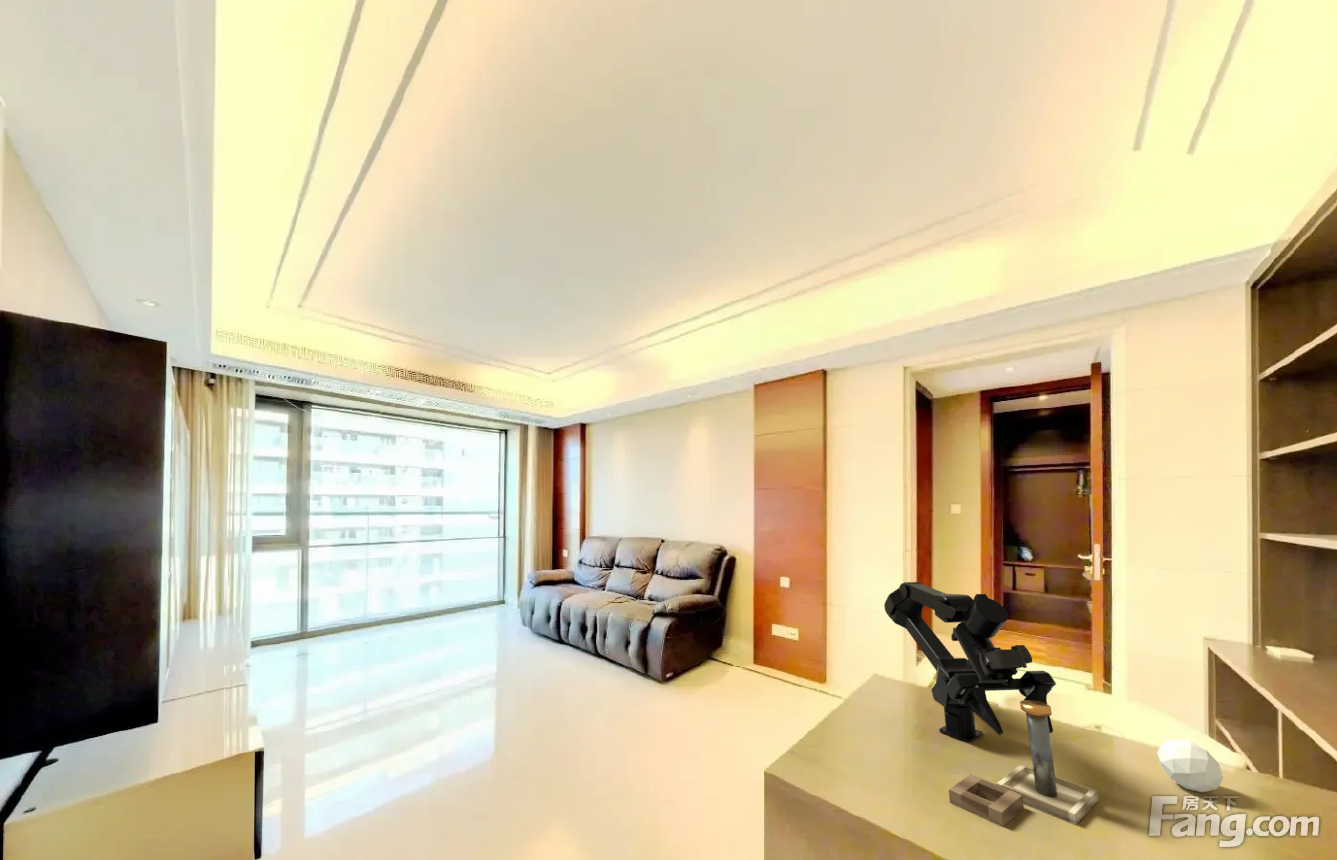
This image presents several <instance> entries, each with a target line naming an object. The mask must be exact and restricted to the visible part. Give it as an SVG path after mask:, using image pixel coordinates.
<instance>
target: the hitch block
mask: <svg viewBox="0 0 1337 860" xmlns="http://www.w3.org/2000/svg"><path fill="white" fill-rule="evenodd" d="M948 797H949V803H950V804H953V805H955V806H957V807H958V808H961V809H963V810H966V811H967V812H970V813H972V814H974V815H976V816H979V817H981V818H983V819H985V820H986V821H987V820H988V821H989V822H992V823H994V824H996V825H998V824H999V825H998V826H1001V827H1004V826H1006V825H1007V824H1008V823H1009V822H1010V821H1012V819H1014V818H1015V817H1016V816H1017V815H1018V814H1020V813H1021V811H1023V810H1024V809H1025V804H1024V803H1023V796H1022V795H1021V794H1019V793H1016V792H1014V791H1011V790H1009V789H1006V788H1004V787H1001V786H999V785H997V783H994V782H991V781H989V780H986V779H983V778H982V777H978V776H976V775H973V774H969V775H968V776H966V777H964V778H963V779H962V780H961V781H959V782H957V783H956V784H954V785H953V786H951V787H950V788H948Z"/></svg>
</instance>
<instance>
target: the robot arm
mask: <svg viewBox="0 0 1337 860" xmlns="http://www.w3.org/2000/svg"><path fill="white" fill-rule="evenodd" d="M987 595H988V594H986V593H976V594H975V595H974V597H973V598H972V597H971V596H970V595H967V594H957V593H946V592H943V591H941V590H937V589H935V588H932V587H930V586H928V585H925V584H923V582H919V581H904V582H903V583H901V584H900V585H899V587H898V588H897V589H895V590H894V591H892V592H891V593H889V594H888V596H887V598H886V599H885V601H884V611H885V613H886V615H888V617H889V619H890V620H891V621H892V622H893V623H894V624H895V625H898V626H900V627H901V628H904V629H906V631H907V632H908V634H909V635H910V636H911V638H913V640H914V642H915V643H916V645H917V646H918V647H919V649H920V650H921V652H922V653H923V654H924V655H925V657H926V658H927V660H928V661H929V662H930V664H931V665H932V667H933V668H934V669H935V671H936V675H935V684H934V685H933V687H931V693H932V698H933V700H934V702H936V703H938V704H939V705H940V706H942V707H943V711H944V712H943V714H944V722H945V725H944V726H942V727H940V728H939V729H938V731H939V733H942V734H945V735H947V736H951V737H954V738H956V739H959V740H962V741H965V742H968V743H971V742H973V741H975V740H976V739H978V738H979V737H981V736H982V735H984V731H982V730H979V729H977V728H976V723H975V722H976V721H975V715H977V716H978V717H979V718H980V719H981V720H982V721H983V722H984V723H986V724H987V725H988V726H989V727H990V729H992V730H993V731H994V732H995V733H997V735H998V736H1003V734H1004V730H1003V728H1002V726H1001V723H1000V722H999V719H998V718H997V716H996V714H995V711H994V710H993V708H992V706H991V704H990V703H989V701H988V699H987V694H986V692H992V691H994V692H995V691H1019V693H1020V695H1022V696H1023V697H1025V698H1024V699H1023V700H1033V701H1038V702H1042V703H1045V704H1047V705H1048V701H1047V697H1048V694H1049V693H1051V691H1052V690H1053V688H1054V687H1055V686H1056V685H1057V683H1056V681H1055V680H1054V678H1053V677H1052V675H1051V674H1050V673H1049V672H1048V671H1045V670H1026V671H1025V672H1024V673H1023V675H1022V676H1021V677H1020V678H1014V677H1013V676H1016V675H1017V674H1018V670H1017V669H1020V668H1022V669H1026V668H1028V666H1027V664H1031V663H1033V658H1032V654H1031V652H1030V651H1029V649H1028V648H1027V647H1026V645H1025V644H1015V645H1012V646H1011V647H1010V649H1005V648H1004V649H1002V648H1001V647H996V646H995V645H994V644H993V642H992V640H991V639H992V638H994V637H995V636H996V635H997V634H998V633H999V632H1000V630H1001V629H1002V627H1003V626H1004V625H1005V624H1006V623H1007V622H1006V621H1008V619H1009V613H1008V611H1007V608H1006V607H1004V606H1003V605H1002V604H1001V603H999V602H998V601H997V600H994V599H992V598H989V597H988V596H987ZM925 607H927V608H929V609H931V610H933V611H934V615H935V616H936V617H937V618H938V619H940V620H941V621H942V622H944V623H947V624H949V623H954V624H956V623H958V624H957V625H956V627H952V634H950V635H951V637H950V638H951V641H952V642H958V643H959V645H960V647H961V649H962V650H963V652H964V654H965V656H966V658H965V657H961V658H960V657H958V658H957V657H956V658H955V657H954V656H953V655H952V653H951V652H950V651H949V650H948V648H947V647H946V645H944V643H943V642H942V641H941V640H940V638H939V637H938V636H937V634H936V633H935V632H934V631H933V630H932V628H931V627H930V625H928V623H927V622H926V621H925V619H924V618H923V610H924V608H925ZM1047 719H1048V726H1049V734H1052V733H1053V732H1054V728H1053V724H1052V719H1051V715H1050V716H1047Z"/></svg>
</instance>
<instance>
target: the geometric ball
mask: <svg viewBox="0 0 1337 860" xmlns="http://www.w3.org/2000/svg"><path fill="white" fill-rule="evenodd" d="M1157 757H1158V761H1159V764H1160V767H1161V768H1162V770H1163V771H1164V772H1165V774H1166V775H1167V776H1168V777H1169V778H1170V779H1171V780H1173V781H1174V782H1176V783H1177V784H1179V786H1182V787H1183V788H1185V789H1186V790H1187V789H1189V790H1188V791H1193V792H1198V793H1206V792H1209V791H1211V792H1212V791H1214V790H1218V789H1219V787H1220V785H1221V783H1222V781H1223V779H1224V776H1223V773H1222V770H1221V769H1222V768H1221V764H1220V763H1219V761H1218V760H1216V759H1215V757H1214V756H1212V755H1211V754H1210V752H1209V751H1207V749H1205V748H1204V747H1202V746H1200V745H1199V744H1197V743H1196V742H1194V741H1192V740H1188V739H1187V740H1186V739H1180V738H1179V739H1178V738H1175V739H1174V738H1173V739H1170V740H1168V741H1163V742H1162V743H1161V745H1160V747H1159V748H1158V750H1157Z"/></svg>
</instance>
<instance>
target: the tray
mask: <svg viewBox="0 0 1337 860" xmlns="http://www.w3.org/2000/svg"><path fill="white" fill-rule="evenodd" d="M1055 779H1056V786H1057V794H1058V796H1057V797H1047V796H1044V795H1041V794H1039V793H1038V792H1037V791H1036V787H1035V779H1034V771H1033V766H1029V765H1027V764H1024V763H1021V764H1020V765H1018V766H1017V767H1016V768H1015V769H1013V770H1012V771H1011V772H1010V773H1008V774H1006V775H1005V776H1004V777H1003V778H1002V779H1000V780H999V781H998V782H996V785H999V786H1001V787H1004V788H1006V789H1009V790H1011V791H1014V792H1016V793H1019V794H1021V795H1022V796H1023V805H1027V806H1029V807H1032V808H1034V809H1036V810H1039V811H1042V812H1043V813H1046V814H1047V815H1048V814H1049V815H1051V816H1053V817H1056V818H1058V819H1061V820H1063V821H1065V822H1068V823H1070V824H1073V825H1076V826H1077V825H1078V824H1079V822H1080V821H1081V820H1082V819H1083V818H1084V817H1085V816H1086V815H1087V814H1088V812H1089V811H1091V809H1092V808H1094V806H1095V805H1096V804H1097V803H1098V802H1099V800H1100V799H1099V794H1098V790H1097V789H1095V788H1091V787H1088V786H1086V785H1084V784H1080V783H1078V782H1075V781H1072V780H1069V779H1066V778H1063V777H1060V776H1058V775H1055ZM1097 801H1098V802H1097ZM1096 802H1097V803H1096ZM1095 803H1096V804H1095ZM1094 804H1095V805H1094ZM1091 807H1092V808H1091ZM1090 808H1091V809H1090ZM1086 813H1087V814H1086ZM1085 814H1086V815H1085Z"/></svg>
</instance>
